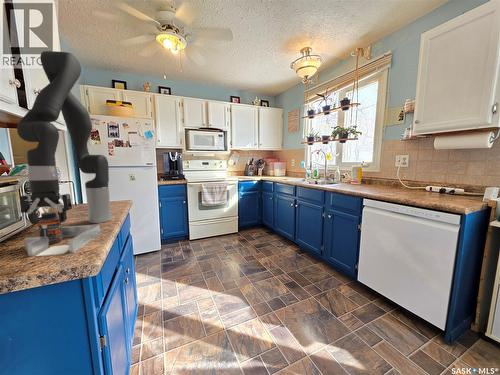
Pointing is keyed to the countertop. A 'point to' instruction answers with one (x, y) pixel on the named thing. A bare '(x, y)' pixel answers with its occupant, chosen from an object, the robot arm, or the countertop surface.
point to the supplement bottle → (50, 227)
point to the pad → (55, 250)
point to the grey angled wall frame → (78, 232)
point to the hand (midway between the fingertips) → (48, 222)
